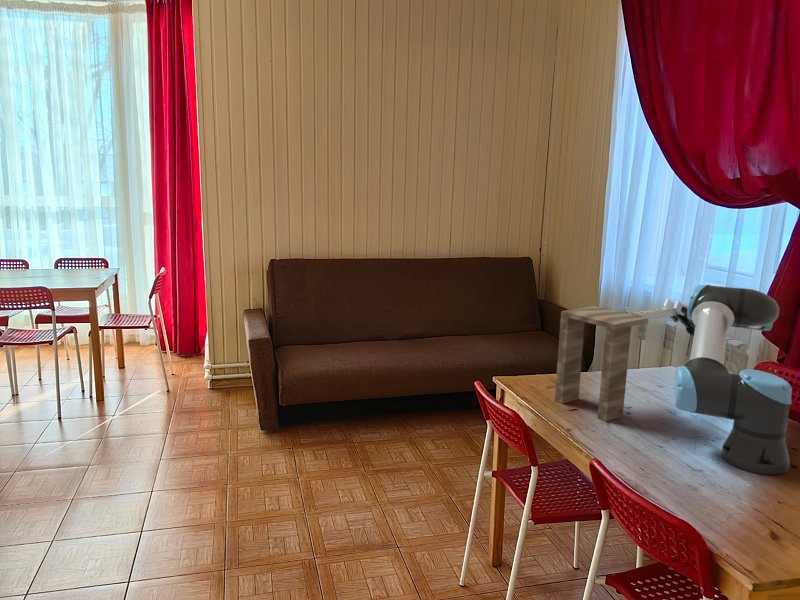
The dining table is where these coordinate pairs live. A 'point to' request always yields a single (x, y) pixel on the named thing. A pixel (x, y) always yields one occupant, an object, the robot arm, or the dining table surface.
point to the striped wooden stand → (612, 356)
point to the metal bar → (658, 312)
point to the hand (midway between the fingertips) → (671, 303)
